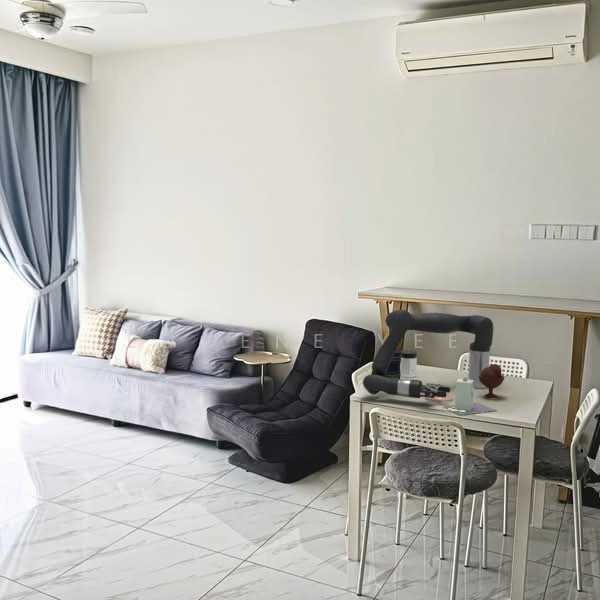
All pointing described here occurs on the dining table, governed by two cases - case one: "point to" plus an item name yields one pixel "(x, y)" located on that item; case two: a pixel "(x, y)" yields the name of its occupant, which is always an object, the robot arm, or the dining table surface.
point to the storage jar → (394, 366)
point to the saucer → (441, 398)
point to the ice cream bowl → (491, 378)
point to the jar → (408, 363)
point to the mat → (473, 409)
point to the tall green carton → (464, 394)
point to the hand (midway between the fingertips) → (448, 392)
